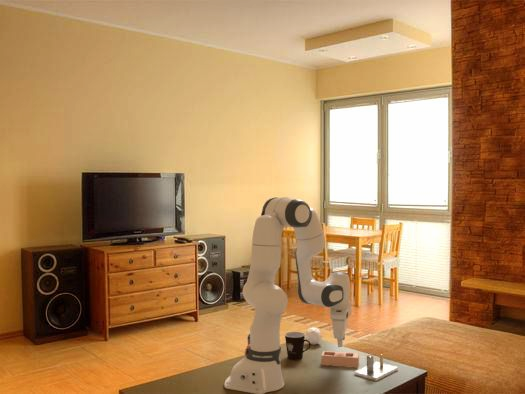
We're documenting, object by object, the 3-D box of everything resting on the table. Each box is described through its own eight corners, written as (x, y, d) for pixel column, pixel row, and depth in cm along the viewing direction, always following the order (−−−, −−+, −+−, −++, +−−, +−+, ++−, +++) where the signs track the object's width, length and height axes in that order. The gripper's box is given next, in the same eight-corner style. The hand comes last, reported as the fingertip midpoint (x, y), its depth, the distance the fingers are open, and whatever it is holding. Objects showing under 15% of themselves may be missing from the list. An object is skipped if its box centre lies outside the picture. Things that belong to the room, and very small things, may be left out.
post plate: (376, 381, 203) (376, 361, 203) (354, 374, 210) (354, 355, 210) (398, 370, 214) (397, 351, 214) (376, 364, 221) (376, 346, 221)
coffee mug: (281, 356, 234) (281, 333, 233) (299, 353, 237) (298, 330, 237) (294, 364, 223) (294, 340, 223) (312, 361, 227) (312, 337, 226)
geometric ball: (316, 348, 252) (325, 334, 254) (315, 347, 245) (324, 332, 246) (302, 339, 254) (311, 325, 256) (301, 338, 247) (310, 323, 249)
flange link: (321, 364, 222) (321, 355, 221) (323, 360, 227) (323, 351, 227) (358, 367, 218) (358, 357, 218) (359, 362, 224) (358, 353, 223)
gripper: (335, 304, 233) (336, 335, 233) (329, 316, 213) (331, 350, 214) (350, 304, 231) (351, 335, 232) (345, 316, 212) (346, 351, 212)
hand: (341, 343), depth 223 cm, fingers open, 8 cm apart
